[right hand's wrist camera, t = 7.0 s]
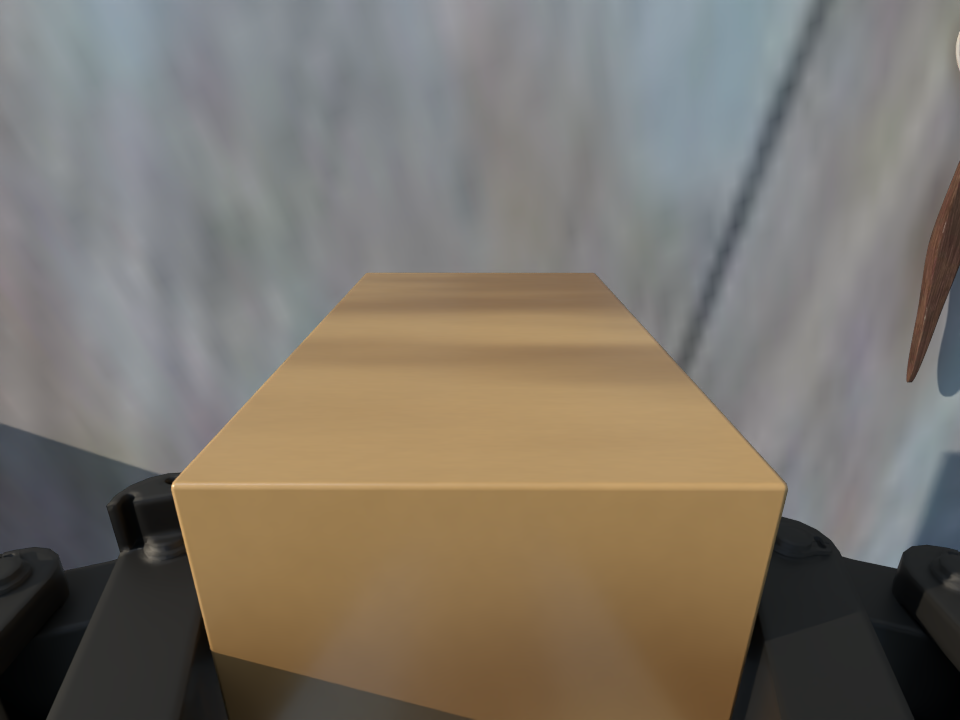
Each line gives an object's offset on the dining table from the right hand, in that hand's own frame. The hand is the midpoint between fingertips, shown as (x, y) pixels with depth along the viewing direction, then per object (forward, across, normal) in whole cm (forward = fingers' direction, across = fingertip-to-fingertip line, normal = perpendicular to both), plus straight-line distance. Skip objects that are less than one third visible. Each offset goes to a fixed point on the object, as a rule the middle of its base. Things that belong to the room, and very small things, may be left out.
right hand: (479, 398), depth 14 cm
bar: (+1, 0, -9) cm, 9 cm away
